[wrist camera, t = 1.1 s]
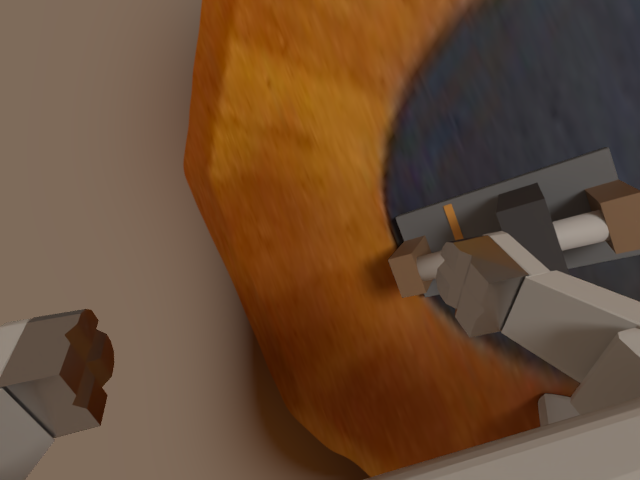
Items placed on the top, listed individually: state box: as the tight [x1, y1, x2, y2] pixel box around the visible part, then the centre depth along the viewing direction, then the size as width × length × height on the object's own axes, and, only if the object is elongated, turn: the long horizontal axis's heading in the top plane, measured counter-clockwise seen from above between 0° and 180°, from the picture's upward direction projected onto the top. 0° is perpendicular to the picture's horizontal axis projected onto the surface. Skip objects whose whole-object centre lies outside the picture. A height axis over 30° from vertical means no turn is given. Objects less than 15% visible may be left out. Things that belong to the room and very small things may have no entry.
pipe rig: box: [388, 147, 640, 298], centre depth 42 cm, size 24×12×10 cm, turn 115°
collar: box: [496, 183, 570, 275], centre depth 38 cm, size 4×10×10 cm, turn 25°
